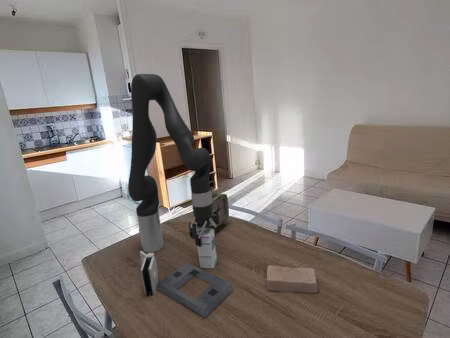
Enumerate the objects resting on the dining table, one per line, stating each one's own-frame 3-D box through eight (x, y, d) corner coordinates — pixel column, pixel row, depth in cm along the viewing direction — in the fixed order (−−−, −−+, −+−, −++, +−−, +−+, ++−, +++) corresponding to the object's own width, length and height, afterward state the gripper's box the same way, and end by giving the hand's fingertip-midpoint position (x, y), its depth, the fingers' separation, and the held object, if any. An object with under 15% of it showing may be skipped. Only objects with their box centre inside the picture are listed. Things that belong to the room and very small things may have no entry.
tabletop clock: (213, 237, 128) (209, 187, 121) (198, 232, 133) (193, 184, 126) (229, 224, 140) (226, 177, 133) (215, 220, 144) (211, 176, 138)
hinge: (143, 273, 105) (139, 251, 102) (157, 270, 106) (154, 247, 104) (144, 297, 92) (140, 272, 90) (161, 293, 94) (157, 268, 91)
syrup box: (214, 268, 105) (210, 235, 101) (199, 267, 106) (195, 234, 102) (217, 260, 110) (214, 227, 106) (203, 259, 111) (200, 227, 107)
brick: (314, 277, 96) (314, 266, 95) (318, 294, 88) (318, 282, 87) (267, 275, 99) (266, 264, 98) (266, 291, 91) (266, 280, 90)
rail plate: (158, 290, 95) (157, 282, 94) (187, 269, 106) (186, 261, 105) (205, 317, 82) (204, 309, 81) (232, 290, 92) (231, 282, 92)
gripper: (207, 194, 108) (211, 230, 113) (181, 207, 98) (186, 247, 102) (221, 197, 104) (225, 235, 108) (196, 211, 93) (201, 252, 97)
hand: (206, 240), depth 105 cm, fingers open, 8 cm apart
